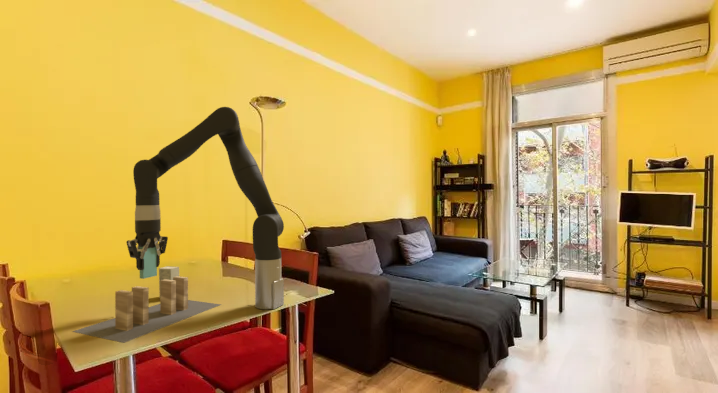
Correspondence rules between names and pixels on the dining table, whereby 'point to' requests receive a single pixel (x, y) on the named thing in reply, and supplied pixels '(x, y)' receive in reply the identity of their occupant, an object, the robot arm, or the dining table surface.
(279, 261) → the robot arm
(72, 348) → the dining table surface
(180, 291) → the domino
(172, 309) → the domino
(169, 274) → the skincare box
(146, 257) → the domino
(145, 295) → the domino
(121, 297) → the domino
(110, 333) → the mat
